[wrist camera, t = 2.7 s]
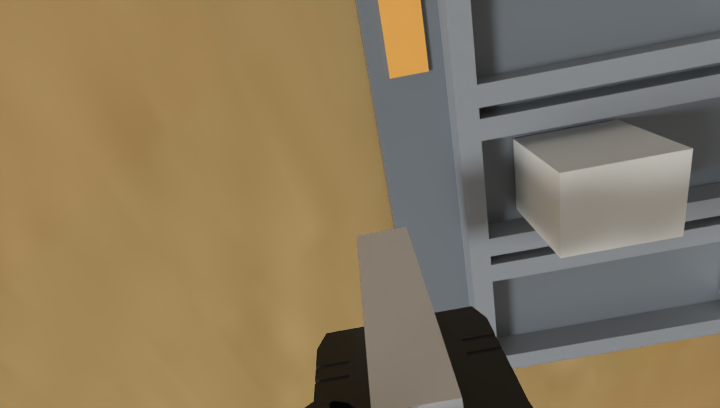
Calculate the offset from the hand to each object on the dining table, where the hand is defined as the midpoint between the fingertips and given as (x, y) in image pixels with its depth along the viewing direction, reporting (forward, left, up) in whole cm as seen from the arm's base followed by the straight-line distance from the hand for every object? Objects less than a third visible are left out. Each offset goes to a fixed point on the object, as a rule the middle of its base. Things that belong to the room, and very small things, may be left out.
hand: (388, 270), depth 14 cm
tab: (0, +8, -5) cm, 9 cm away
